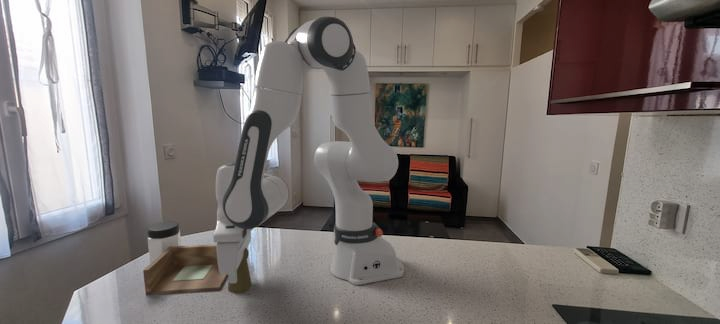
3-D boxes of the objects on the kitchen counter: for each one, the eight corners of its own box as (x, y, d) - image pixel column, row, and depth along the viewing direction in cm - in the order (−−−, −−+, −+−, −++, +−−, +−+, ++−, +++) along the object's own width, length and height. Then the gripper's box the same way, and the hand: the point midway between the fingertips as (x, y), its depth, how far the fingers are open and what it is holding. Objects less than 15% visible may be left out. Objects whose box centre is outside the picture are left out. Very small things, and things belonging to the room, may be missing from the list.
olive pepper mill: (243, 294, 78) (241, 254, 77) (223, 291, 79) (220, 252, 78) (256, 282, 84) (254, 245, 82) (236, 279, 85) (234, 242, 84)
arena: (233, 264, 94) (232, 243, 93) (219, 289, 80) (217, 266, 79) (171, 267, 91) (169, 246, 90) (145, 294, 77) (143, 270, 76)
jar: (154, 257, 97) (151, 222, 95) (183, 253, 100) (180, 219, 98) (147, 271, 89) (143, 232, 87) (179, 266, 92) (176, 229, 90)
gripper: (233, 211, 88) (234, 255, 90) (210, 238, 68) (213, 295, 70) (255, 210, 89) (256, 254, 91) (240, 237, 69) (242, 293, 71)
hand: (238, 272), depth 80 cm, fingers open, 8 cm apart
